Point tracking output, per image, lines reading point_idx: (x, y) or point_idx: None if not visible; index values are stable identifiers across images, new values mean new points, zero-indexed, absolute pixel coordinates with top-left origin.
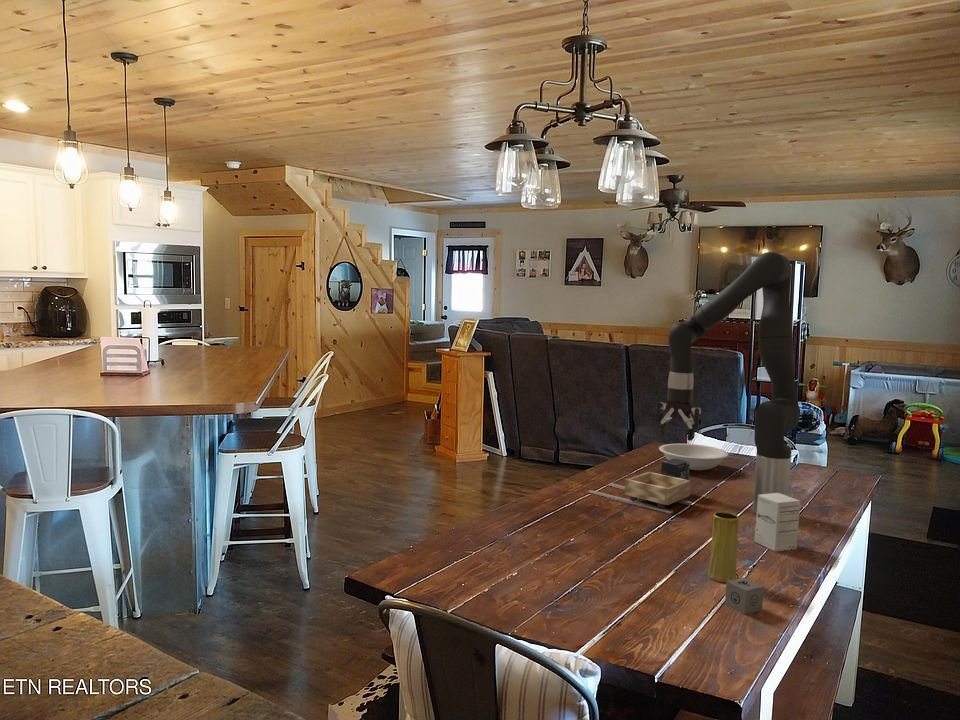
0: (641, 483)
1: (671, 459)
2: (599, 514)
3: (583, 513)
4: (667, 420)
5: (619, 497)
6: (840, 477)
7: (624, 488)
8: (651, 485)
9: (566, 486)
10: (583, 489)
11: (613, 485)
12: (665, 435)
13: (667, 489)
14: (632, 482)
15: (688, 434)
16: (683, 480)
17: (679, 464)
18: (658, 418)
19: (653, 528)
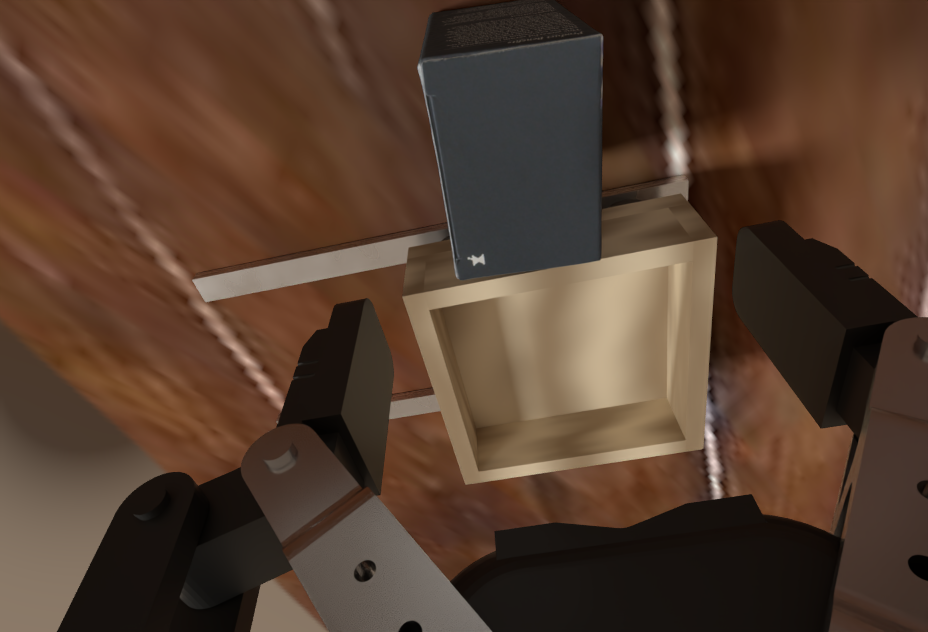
0: (554, 470)
1: (452, 156)
2: (512, 523)
3: (477, 545)
4: (328, 487)
5: (423, 400)
6: None
7: (300, 281)
8: (608, 462)
9: (162, 434)
10: (228, 410)
11: (234, 294)
12: (383, 341)
13: (697, 448)
14: (504, 473)
15: (783, 360)
16: (673, 262)
17: (601, 228)
18: (241, 606)
19: (709, 492)
